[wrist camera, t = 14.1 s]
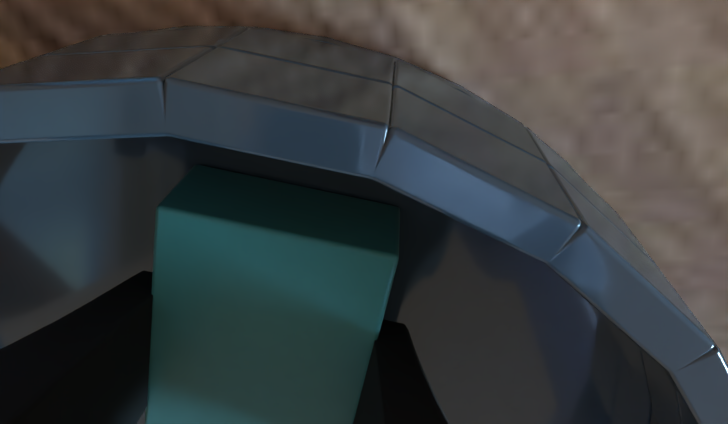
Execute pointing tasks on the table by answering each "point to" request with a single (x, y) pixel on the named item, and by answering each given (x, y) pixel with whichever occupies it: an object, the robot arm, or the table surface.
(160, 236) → the rectangular block
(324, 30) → the table surface
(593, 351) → the bowl
